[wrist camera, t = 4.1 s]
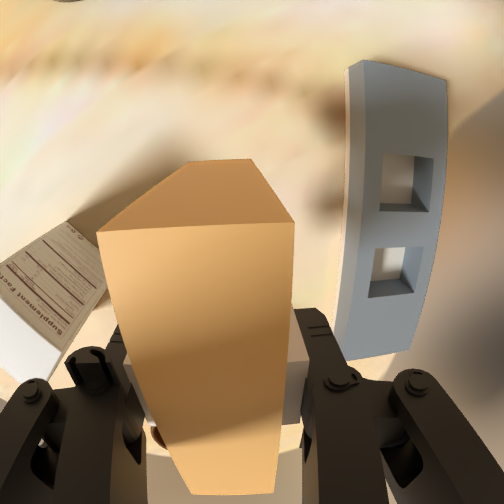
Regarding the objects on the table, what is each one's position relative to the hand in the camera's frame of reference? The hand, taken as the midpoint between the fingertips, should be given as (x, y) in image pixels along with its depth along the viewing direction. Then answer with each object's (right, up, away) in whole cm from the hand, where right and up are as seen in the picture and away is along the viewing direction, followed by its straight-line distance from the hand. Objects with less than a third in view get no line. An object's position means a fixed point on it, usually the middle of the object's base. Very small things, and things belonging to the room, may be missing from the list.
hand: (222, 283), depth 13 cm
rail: (+13, +5, +13) cm, 19 cm away
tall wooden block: (0, +1, +3) cm, 3 cm away
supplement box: (-16, 0, +13) cm, 20 cm away
